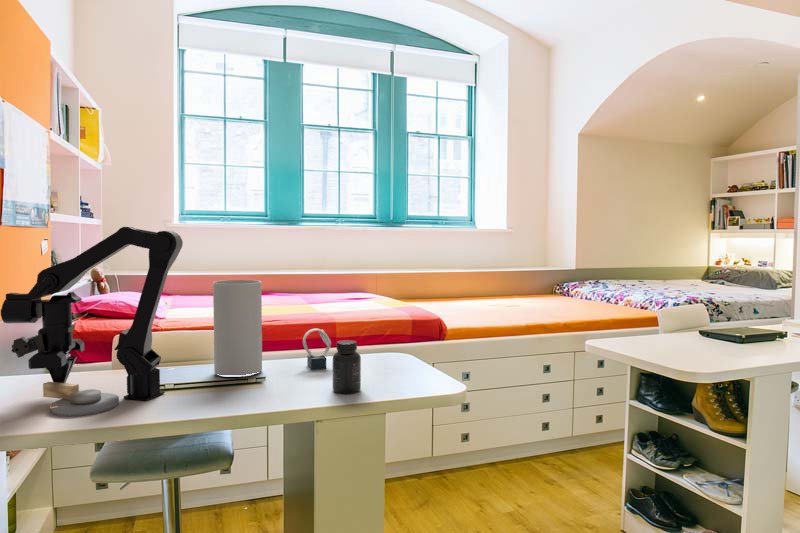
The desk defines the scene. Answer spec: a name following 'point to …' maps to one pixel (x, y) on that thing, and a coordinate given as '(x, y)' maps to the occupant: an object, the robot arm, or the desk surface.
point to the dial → (70, 393)
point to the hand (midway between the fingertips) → (59, 390)
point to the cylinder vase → (237, 327)
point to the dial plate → (84, 406)
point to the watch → (317, 359)
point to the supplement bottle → (346, 368)
